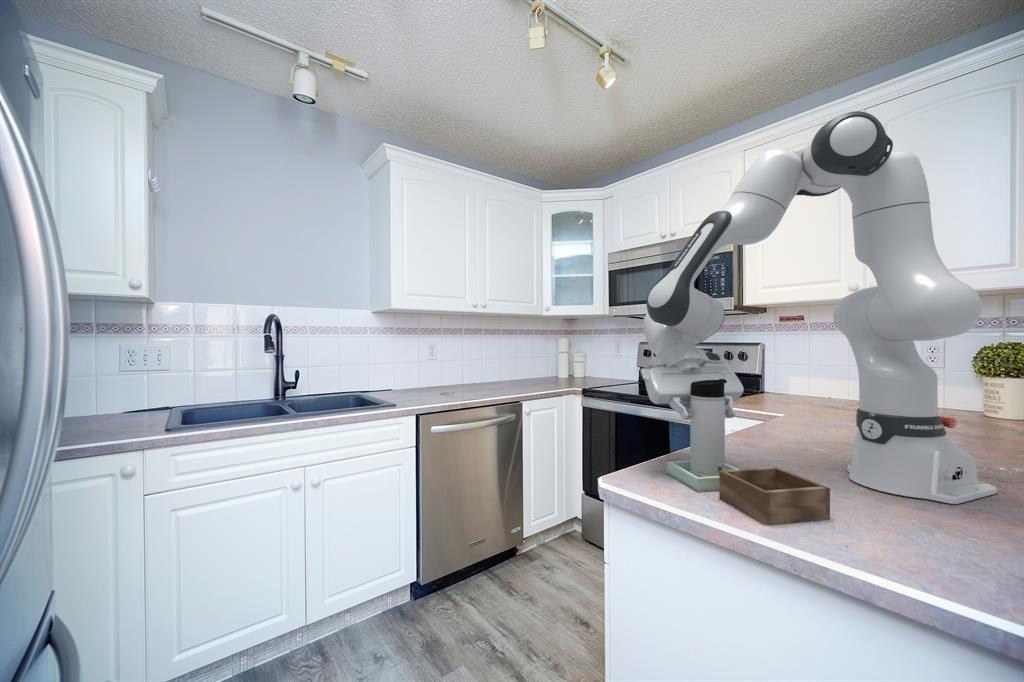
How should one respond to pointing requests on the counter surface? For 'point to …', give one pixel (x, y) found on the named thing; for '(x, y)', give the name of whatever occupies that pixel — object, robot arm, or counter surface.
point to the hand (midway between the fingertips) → (709, 417)
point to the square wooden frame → (774, 495)
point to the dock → (694, 476)
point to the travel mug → (707, 428)
